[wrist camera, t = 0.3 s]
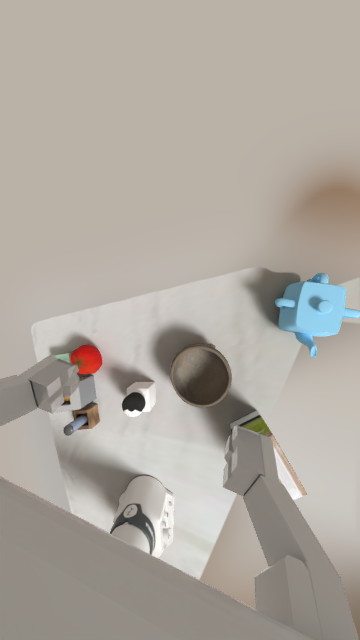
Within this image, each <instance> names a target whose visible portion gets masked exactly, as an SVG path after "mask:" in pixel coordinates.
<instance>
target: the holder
mask: <svg viewBox="0 0 360 640" xmlns="http://www.w3.org/2000/svg"><path fill="white" fill-rule="evenodd" d="M84 413H87V417H88V421H87V422H86V423H85V424H83V425H82V426H81V427H80V428H78V429H77V430H81V429H90V428H93V427H94V426H95V425H96V424H97V423H99V422H100V420H99V413H98V406H97V404H94V405H86V406H84V407H82V408H81V409H79V410H75V411H73V416H74V420H75V419H77V418H78V417H80V416H81V415H83V414H84Z"/></svg>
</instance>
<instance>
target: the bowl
mask: <svg viewBox="0 0 360 640" xmlns="http://www.w3.org/2000/svg"><path fill="white" fill-rule="evenodd" d="M215 347H216V346H214V345H213V344H208V345H205V344H199V343H198V344H193V345H190V346H188V347H186V348H184V349H183V350H181V351H180V352H179V353H178V354H177V356H176V357H175V359H174V361H173V363H172V367H171V381H172V385H173V387H174V389H175V391H176V393H177V394H178V395H179V397H180V398H181V399H182V400H183V401H184V402H186V403H188V404H190V405H192V406H195V407H210V406H213V405H215V404H217V403H219V402H220V401H221V400H222V399H223V398H224V397H225V396H226V394H227V393H228V391H229V389H230V386H231V381H232V374H231V369H230V366H229V364H228V362H227V360H226V359H225V357H224V356H223V355H222V354H221V353H220V352H219V351H218V350H216V349H215Z"/></svg>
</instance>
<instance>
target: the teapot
mask: <svg viewBox="0 0 360 640" xmlns="http://www.w3.org/2000/svg"><path fill="white" fill-rule="evenodd" d="M318 282H319V283H318ZM345 300H346V288H345V287H342V286H337V285H330V284H328V276H327V275H326V274H324V273H318V274H316V275H315V276H314V277H313V278H312V279H309V280H307V281H306V282H297V283H293V284H291V285H289V286H287V288H286V289H285V292H284V295H283V298H278V299H276V300H275V305H276V306H278V307H280V313H279V328H280V329H282V330H285V331H289V332H294V333H295V335H296V338H297V339H298V341H299V342H301V343H302V344H304V345H306V346H307V347H308V348H309V350H310V355H311V357H312V358H315V356H316V354H317V347H316V344H315V343H314V342H313V336H330V335H335V334H337V333H338V331H339V329H340V325H341V322H342V318H358V317H360V311H358V310H354V309H348V308H345Z"/></svg>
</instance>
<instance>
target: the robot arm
mask: <svg viewBox="0 0 360 640" xmlns="http://www.w3.org/2000/svg"><path fill="white" fill-rule="evenodd" d="M77 372H79V369H78V366H76V365H74V364H71V363H69V362H66V361H64V360H61V359H59V358H56V357H54V356H49V357H46V358H45V359H43V360H42V361H40V362H39V363H37V364H36V365H34V366H33V367H31V368H30V369H28V370H27V371H25V372H24V373H22V374H20V375H19V376H17V375H14V376H10V377H7V378H3V379H0V426H2V425H4V424H6V423H8V422H10V421H12V420H14V419H16V418H18V417H21V416H23V415H25V414H27V413H29V412H31V411H33V410H35V409H37V408H40V409H42V410H45V411H47V412H50V413H54V412H55V411H56V410H57V409H58V408H59V407H60V406H61V405H62V404H63V403H64V399H65V397H68V396H71V395H72V394H73V393H74V392H75V391H76V389H77V387H78V386H79V382H80V379H79V376H78V375H77ZM225 460H226V462H227V464H226V466H225V468H224V476H223V487H224V488H226V489H228V490H231V491H233V492H235V493H237V494H239V495H241V496H244V497H243V499H244V501H245V504H246V507H247V510H248V512H249V515H250V518H251V520H252V523H253V526H254V528H255V531H256V534H257V536H258V539H259V541H260V544H261V546H262V550H263V552H264V555H265V558H266V560H267V563H268V566H269V567H268V568H266V569H265V570H263V571H262V572H260V573H258V574H257V575H256V576H255V577H254V580H255V604H256V609H254V608H252V607H250V606H248V605H247V604H245V603H243V602H241V601H239V600H237V599H235V598H233V597H231V596H229V595H227V594H225V593H224V592H222V591H220V590H218V589H216V588H214V587H212V586H210V585H208V584H206V583H204V582H202V581H200V580H199V579H197V578H195V577H193V576H191V575H189V574H187V573H185V572H183V571H181V570H179V569H177V568H175V567H174V566H172V565H170V564H168V563H166V562H164V561H162V560H160V559H158V557H159V556H160V555H161V554H162V553H163V549H164V548H165V547H167V546H169V545H170V544H172V541H173V526H174V495H173V493H171V492H170V491H168V490H166V489H165V488H164V487H163V485H162V484H161V483H160V482H159V481H158V480H156V479H155V478H153V477H150V476H139V477H136V478H134V479H133V480H132V481H131V482H130V483H129V485H128V487H127V489H126V491H125V492H124V493H123V494H122V495H121V496H120V498H119V504H120V505H119V507H118V510H117V512H116V515H115V517H114V521H113V522H114V524H113V526H112V528H111V531H110V533H108V532H106V531H104V530H102V529H100V528H99V527H97V526H95V525H93V524H91V523H89V522H87V521H85V520H83V519H81V518H79V517H77V516H75V515H73V514H72V513H70V512H68V511H66V510H64V509H62V508H60V507H58V506H56V505H54V504H52V503H50V502H48V501H46V500H44V499H43V498H41V497H39V496H37V495H35V494H33V493H31V492H29V491H27V490H25V489H23V488H22V487H20V486H18V485H15V484H14V483H12V482H10V481H8V480H6V479H4V478H2V477H0V640H359V638H358V635H357V631H356V628H355V625H354V621H353V618H352V614H351V611H350V608H349V604H348V601H347V597H346V594H345V591H344V587H343V584H342V581H341V577H340V576H339V574H338V572H337V571H336V569H335V568H334V566H333V564H332V563H331V561H330V559H329V558H328V556H327V555H326V553H325V551H324V550H323V548H322V547H321V545H320V543H319V542H318V540H317V538H316V537H315V535H314V533H313V532H312V530H311V528H310V527H309V525H308V524H307V522H306V520H305V519H304V517H303V515H302V514H301V512H300V511H299V509H298V507H297V505H296V504H295V502H294V501H293V499H292V497H291V496H290V494H289V492H288V491H287V489H286V487H285V486H284V484H282V483H280V482H279V476H278V470H277V464H276V458H275V452H274V446H273V441H272V439H271V438H270V437H267V436H264V435H261V434H258V433H257V432H254V431H251V430H248V429H246V428H243V427H240V426H237V425H236V426H234V428H233V434H232V435H230V436H229V438H228V440H227V443H226V448H225ZM170 501H171V502H170Z"/></svg>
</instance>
